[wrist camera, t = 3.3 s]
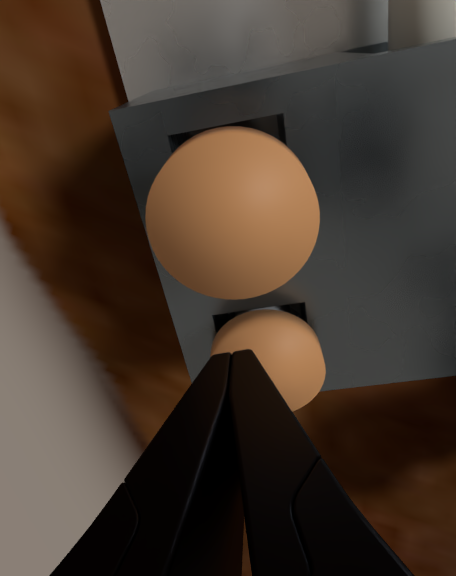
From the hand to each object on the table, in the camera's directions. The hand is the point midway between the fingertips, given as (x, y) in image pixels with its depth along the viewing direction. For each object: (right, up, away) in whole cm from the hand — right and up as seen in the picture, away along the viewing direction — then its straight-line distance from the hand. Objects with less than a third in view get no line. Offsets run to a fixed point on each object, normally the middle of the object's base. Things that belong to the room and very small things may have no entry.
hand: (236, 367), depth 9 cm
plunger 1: (0, +5, +3) cm, 6 cm away
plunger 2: (+1, 0, +8) cm, 8 cm away
